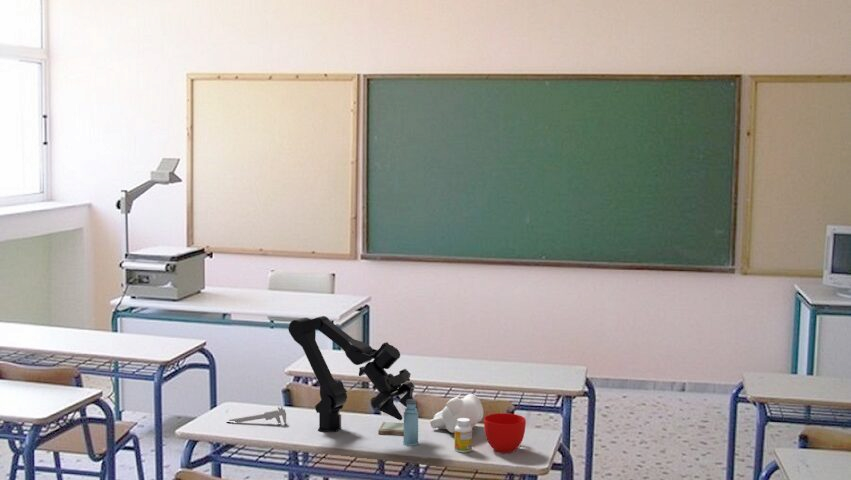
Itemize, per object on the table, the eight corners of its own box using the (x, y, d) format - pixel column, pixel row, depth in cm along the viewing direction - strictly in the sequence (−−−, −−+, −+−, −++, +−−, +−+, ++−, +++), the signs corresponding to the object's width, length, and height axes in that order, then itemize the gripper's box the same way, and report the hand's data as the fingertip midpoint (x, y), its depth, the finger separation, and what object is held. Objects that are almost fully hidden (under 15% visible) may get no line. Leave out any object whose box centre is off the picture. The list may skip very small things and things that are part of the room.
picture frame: (378, 433, 330) (378, 429, 330) (383, 425, 340) (383, 421, 340) (408, 435, 329) (408, 431, 329) (412, 426, 339) (412, 422, 339)
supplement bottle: (453, 447, 316) (453, 417, 315) (470, 447, 316) (470, 417, 316) (455, 452, 311) (455, 422, 310) (472, 452, 311) (473, 421, 310)
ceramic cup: (530, 442, 322) (531, 412, 321) (521, 458, 306) (521, 426, 305) (490, 439, 326) (491, 408, 325) (479, 454, 310) (479, 422, 309)
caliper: (286, 424, 342) (286, 406, 341) (285, 425, 340) (285, 406, 340) (226, 423, 342) (226, 404, 341) (225, 423, 341) (225, 405, 340)
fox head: (431, 400, 346) (417, 410, 326) (476, 385, 342) (464, 395, 323) (444, 437, 345) (430, 450, 326) (489, 423, 341) (478, 435, 322)
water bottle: (401, 445, 318) (402, 402, 316) (404, 441, 322) (404, 398, 321) (417, 446, 317) (417, 402, 316) (419, 441, 322) (420, 398, 321)
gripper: (379, 367, 312) (409, 407, 308) (409, 357, 328) (439, 394, 324) (357, 389, 317) (387, 429, 312) (389, 378, 333) (417, 415, 329)
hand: (409, 416), depth 319 cm, fingers open, 9 cm apart
